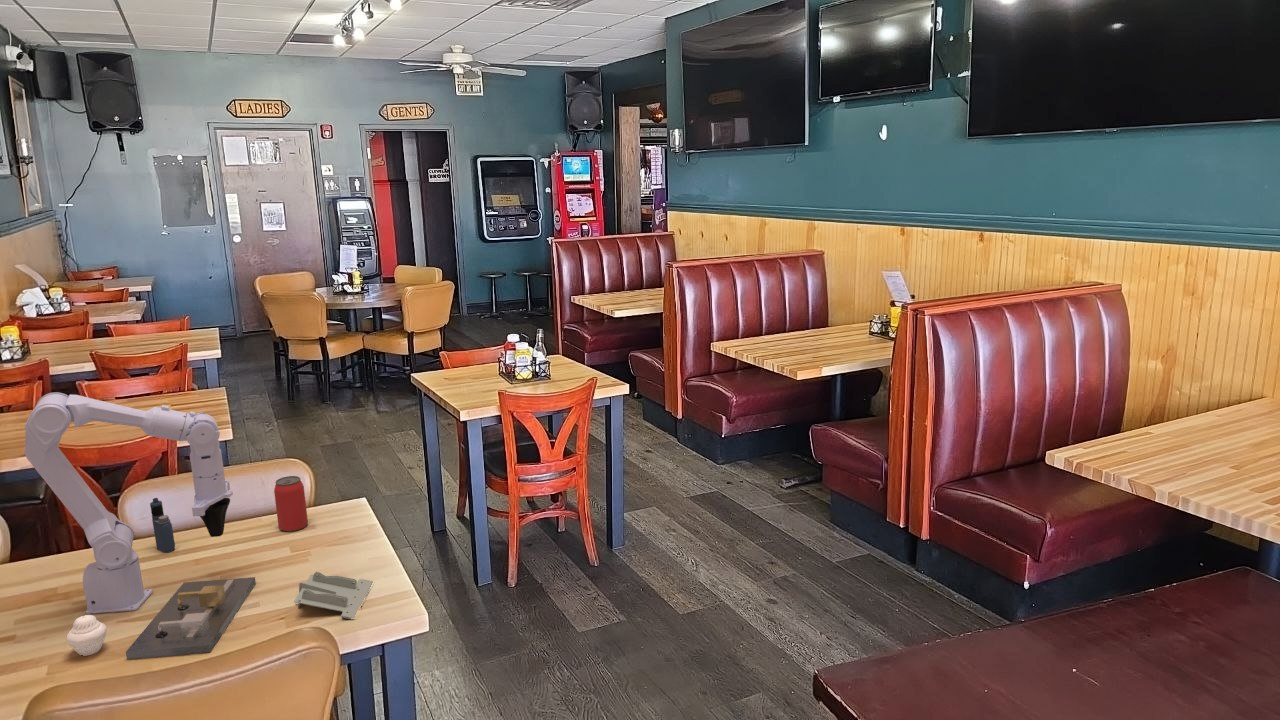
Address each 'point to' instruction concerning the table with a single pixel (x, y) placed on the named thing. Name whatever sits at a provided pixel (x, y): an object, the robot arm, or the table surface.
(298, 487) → the beer can
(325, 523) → the table surface
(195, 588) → the plate
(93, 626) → the muffin
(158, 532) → the vaping device
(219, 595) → the brass slider
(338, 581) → the metal bracket
